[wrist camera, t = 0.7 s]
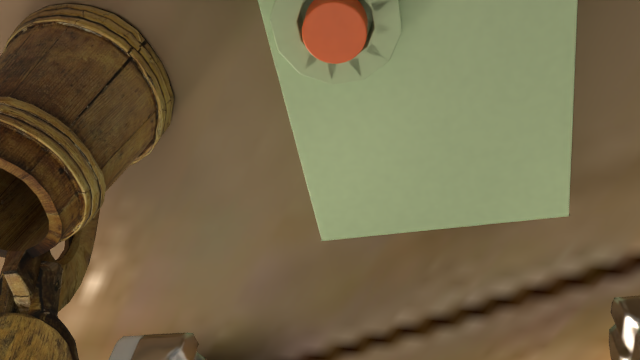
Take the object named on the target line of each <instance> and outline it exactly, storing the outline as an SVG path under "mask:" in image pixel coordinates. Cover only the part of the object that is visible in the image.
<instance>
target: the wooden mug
mask: <svg viewBox="0 0 640 360" xmlns="http://www.w3.org/2000/svg"><path fill="white" fill-rule="evenodd" d="M173 102H174V97H173V93H172V90H171V87H170V84H169V79H168V77H167V74H166V72H165V69H164V67H163V64H162V63H161V61H160V60H159V59H158V57H157V56H156V54H155V53H154V51H153V50H152V48H151V47H150V45H149V44H148V43H147V42H146V41H145V39H144V38H143V37H142V36H141V35H140V33H139V32H138V31H137V30H136V29H134V28H133V27H132V26H130V25H129V24H127V23H126V22H125V21H123V20H122V19H120V18H119V17H117V16H116V15H115V14H112V13H109V12H106V11H103V10H100V9H97V8H94V7H91V6H83V5H76V4H62V5H53V6H48V7H45V8H43V9H41V10H39V11H37V12H35V13H32V14H30V15H29V16H28V17H27V18H26V19H25V20H24V21H23V22H22V23H21V24H20V25H19V26H18V27H17V28H16V29H15V31H14V32H13V34H12V35H11V37H10V38H9V40H8V41H7V44H6V46H5V49H4V51H3V53H2V55H1V56H0V257H5V262H4V265H3V268H2V271H1V274H0V360H79V358H78V353H77V348H76V343H75V340H74V338H73V337H72V335H71V334H70V332H69V331H68V329H67V328H66V326H65V325H64V324H63V323H62V322H61V321H60V320H59V318H58V316H57V314H58V312H59V311H60V310H61V309H62V308H63V307H64V306H65V305H66V304H68V303H69V302H70V300H71V299H72V297H73V296H74V294H75V292H76V291H77V289H78V288H79V286H80V285H81V283H82V280H83V278H84V275H85V273H86V270H87V268H88V265H89V262H90V258H91V254H92V249H93V245H94V241H95V236H96V230H97V224H98V218H99V212H100V207H101V206H102V204H103V201H104V196H105V192H106V191H107V189H108V188H109V187H110V186H111V185H112V184H113V183H114V182H115V181H116V180H117V179H118V178H119V176H120V175H121V174H122V173H123V172H124V171H125V170H126V169H127V168H128V167H129V166H130V165H132V164H135V163H137V162H138V161H139V160H141V159H142V158H144V157H145V156H147V155H148V154H149V153H151V151H152V150H153V148H154V146H155V145H156V143H157V142H158V140H159V138H160V137H161V136H162V134H163V133H164V132H165V131H166V129H167V128H168V127H169V125H170V121H171V115H172V108H173ZM64 240H65V247H64V251H63V252H62V254H61V255H60V257H59V258H58V259H57V260H55V259H54V258H53V256H52V255H51V253H50V249H51V248H53V247H54V246H56V245H57V244H58V243H59V242H61V241H64Z"/></svg>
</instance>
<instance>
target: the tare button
mask: <svg viewBox="0 0 640 360" xmlns="http://www.w3.org/2000/svg"><path fill="white" fill-rule="evenodd" d="M367 27H368V20H367V14H366V12H365V9H364V7H363V6H362V4H361V3H360V2H359V1H358V0H314V1H313V2H312V3H311V4H310V6H309V7H308V9H307V12H306V15H305V18H304V22H303V26H302V38H303V42H304V44H305V46H306V48H307V50H308V51H309V52H310V53H311V54H312V55H313V56H314V57H316V58H317V59H319V60H321V61H323V62H326V63H331V64H338V63H344V62H347V61H349V60H351V59H353V58H354V57H356V56H357V55H358V54H359V53H360V52H361V50H362V49H363V47H364V45H365V43H366V39H367Z"/></svg>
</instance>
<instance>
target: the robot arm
mask: <svg viewBox="0 0 640 360" xmlns="http://www.w3.org/2000/svg"><path fill="white" fill-rule="evenodd" d="M611 314H612V317H613V319H614V322H615V325H614V326H613V327H611V328H610V329H609V347H610V355H611V360H640V296H629V297H618V298H614V299H613V301H612V306H611ZM198 345H199V343H198V341H197V340H196V338H195V336H194V334H193V333H172V334H153V335H141V336H124V337H122V338H121V339H120V340H119V341H118V342H117V343H116V345H115V347H114V349H113V351H112V353H111V355H110V358H109V360H206V358H205V357H203V356H202V355H200V354H198V353H197V352H196V351H197V348H198Z"/></svg>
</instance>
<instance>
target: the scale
mask: <svg viewBox="0 0 640 360" xmlns="http://www.w3.org/2000/svg"><path fill="white" fill-rule="evenodd" d="M313 1H314V0H258V3H259V7H260V11H261V15H262V18H263V22H264V26H265V30H266V33H267V37H268V41H269V44H270V48H271V52H272V56H273V59H274V63H275V67H276V71H277V74H278V78H279V82H280V86H281V89H282V93H283V97H284V101H285V104H286V108H287V112H288V116H289V119H290V123H291V127H292V131H293V134H294V138H295V142H296V146H297V149H298V153H299V157H300V161H301V164H302V168H303V172H304V176H305V179H306V183H307V187H308V191H309V194H310V198H311V202H312V205H313V209H314V213H315V217H316V220H317V224H318V228H319V232H320V235H321V239H322V241H326V240H336V239H346V238H356V237H366V236H376V235H386V234H396V233H406V232H416V231H426V230H436V229H446V228H455V227H465V226H475V225H485V224H495V223H505V222H515V221H525V220H535V219H545V218H555V217H565V216H569V197H570V173H571V149H572V124H573V100H574V76H575V52H576V27H577V3H578V0H358V1H359V2H360V3H361V4H362V6H363V7H364V9H365V12H366V14H367V20H368V27H367V39H366V43H365V45H364V47H363V49H362V50H361V52H360V53H359V54H358V55H357V56H356V57H354V58H353V59H351V60H349V61H347V62H344V63H338V64H331V63H326V62H323V61H321V60H319V59H317V58H316V57H314V56H313V55H312V54H311V53H310V52H309V51H308V50H307V48H306V46H305V44H304V42H303V38H302V26H303V22H304V18H305V15H306V12H307V9H308V7H309V6H310V4H311V3H312V2H313Z"/></svg>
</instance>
